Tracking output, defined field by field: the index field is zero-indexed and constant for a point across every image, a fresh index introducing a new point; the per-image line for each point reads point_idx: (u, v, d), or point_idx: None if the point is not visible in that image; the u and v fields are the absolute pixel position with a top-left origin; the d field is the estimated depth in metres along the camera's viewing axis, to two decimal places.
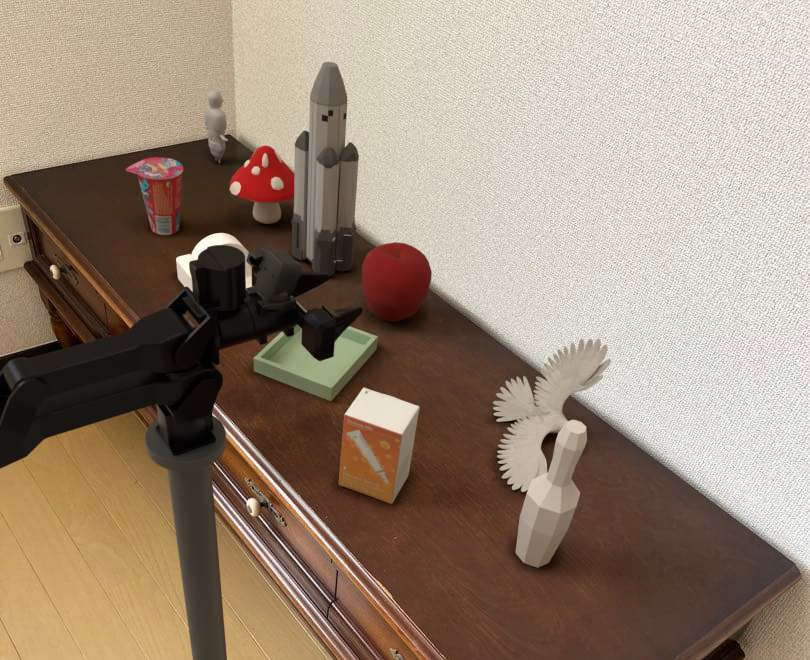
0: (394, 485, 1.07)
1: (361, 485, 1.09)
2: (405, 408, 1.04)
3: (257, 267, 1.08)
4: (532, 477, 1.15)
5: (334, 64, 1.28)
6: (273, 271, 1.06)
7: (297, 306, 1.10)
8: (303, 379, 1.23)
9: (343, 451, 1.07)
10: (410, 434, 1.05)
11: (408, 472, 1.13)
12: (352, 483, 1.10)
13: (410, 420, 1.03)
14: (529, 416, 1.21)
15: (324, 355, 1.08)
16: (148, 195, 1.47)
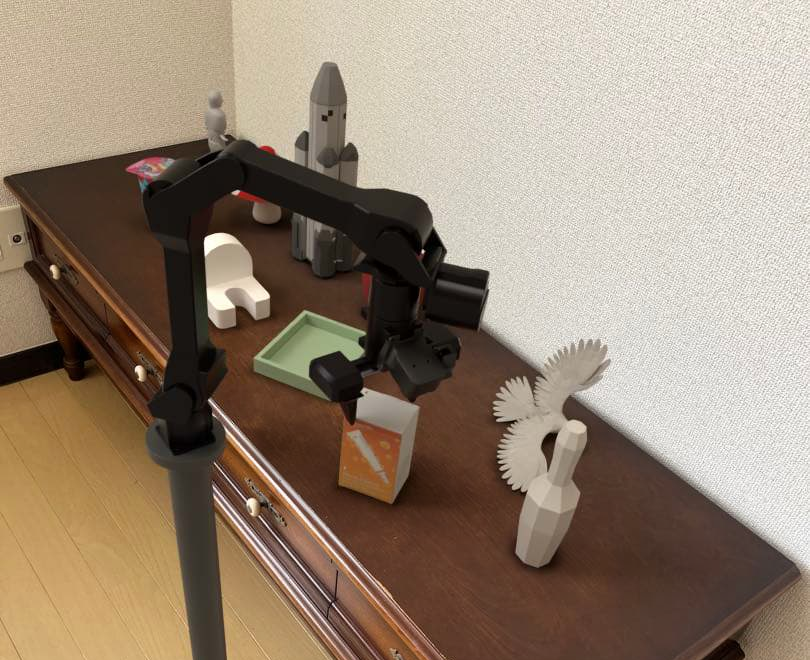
0: (394, 485, 1.07)
1: (361, 485, 1.09)
2: (405, 408, 1.04)
3: (436, 352, 0.93)
4: (532, 477, 1.15)
5: (334, 64, 1.28)
6: (418, 369, 0.92)
7: None
8: (303, 379, 1.23)
9: (343, 451, 1.07)
10: (410, 434, 1.05)
11: (408, 472, 1.13)
12: (352, 483, 1.10)
13: (410, 420, 1.03)
14: (529, 416, 1.21)
15: (312, 370, 0.94)
16: None
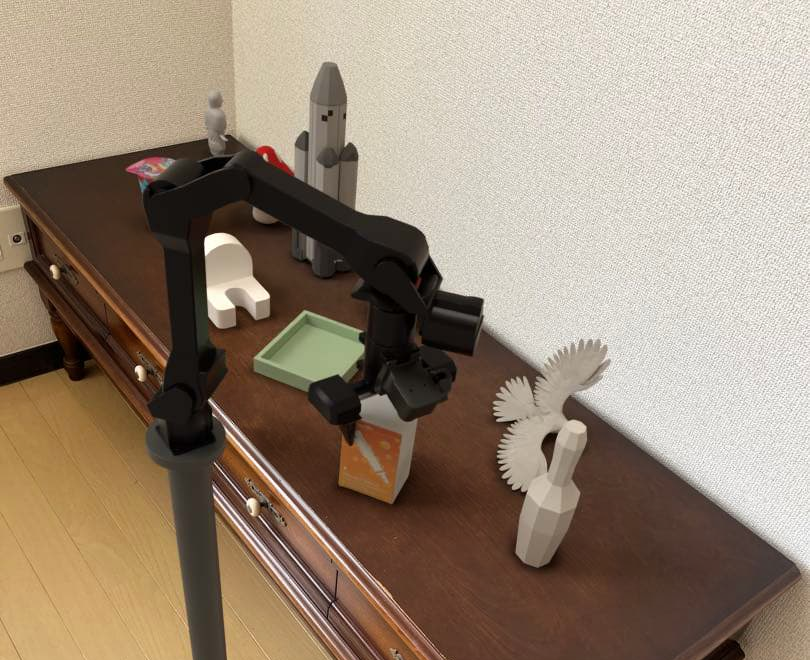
0: (394, 485, 1.07)
1: (361, 485, 1.09)
2: None
3: (432, 376, 0.96)
4: (532, 477, 1.15)
5: (334, 64, 1.28)
6: (414, 393, 0.94)
7: None
8: (303, 379, 1.23)
9: (343, 451, 1.06)
10: (410, 434, 1.05)
11: (408, 472, 1.13)
12: (352, 484, 1.10)
13: None
14: (529, 416, 1.21)
15: (311, 394, 0.97)
16: None
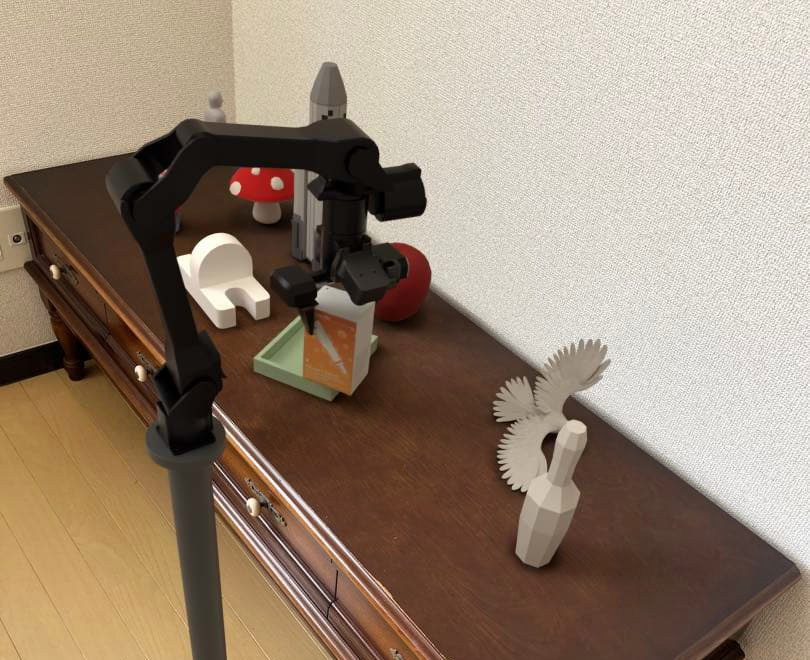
0: (352, 375, 1.17)
1: (323, 377, 1.19)
2: None
3: (382, 264, 1.05)
4: (532, 477, 1.15)
5: (334, 64, 1.28)
6: (365, 278, 1.03)
7: None
8: (303, 379, 1.23)
9: (305, 343, 1.16)
10: (366, 327, 1.15)
11: (367, 369, 1.22)
12: (314, 376, 1.19)
13: (365, 312, 1.12)
14: (529, 416, 1.21)
15: (272, 280, 1.06)
16: None
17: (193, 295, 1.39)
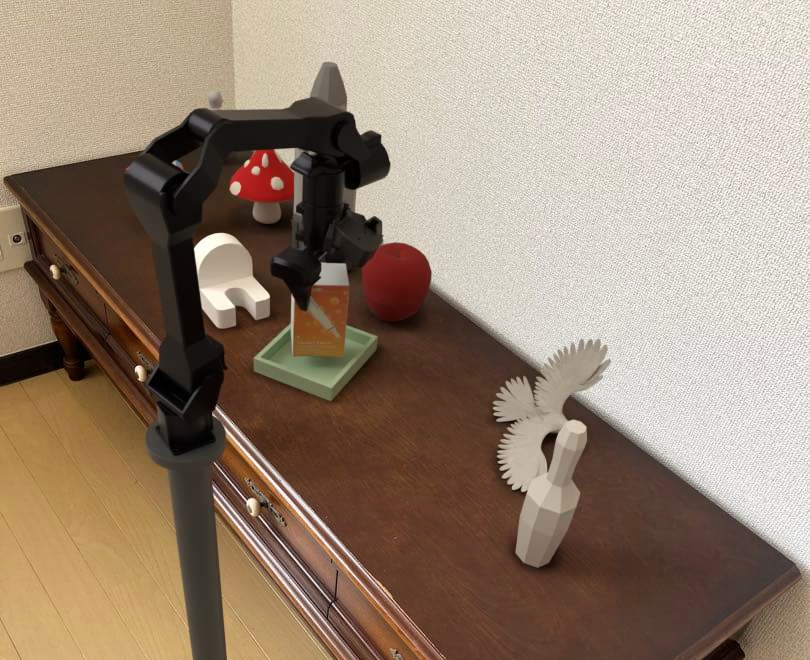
0: (344, 337, 1.25)
1: (314, 348, 1.25)
2: (336, 267, 1.21)
3: (367, 225, 1.14)
4: (532, 477, 1.15)
5: (334, 64, 1.28)
6: (363, 240, 1.12)
7: (323, 251, 1.15)
8: (303, 379, 1.23)
9: (296, 321, 1.21)
10: None
11: None
12: (305, 350, 1.25)
13: (347, 274, 1.20)
14: (529, 416, 1.21)
15: (275, 267, 1.10)
16: None
17: None
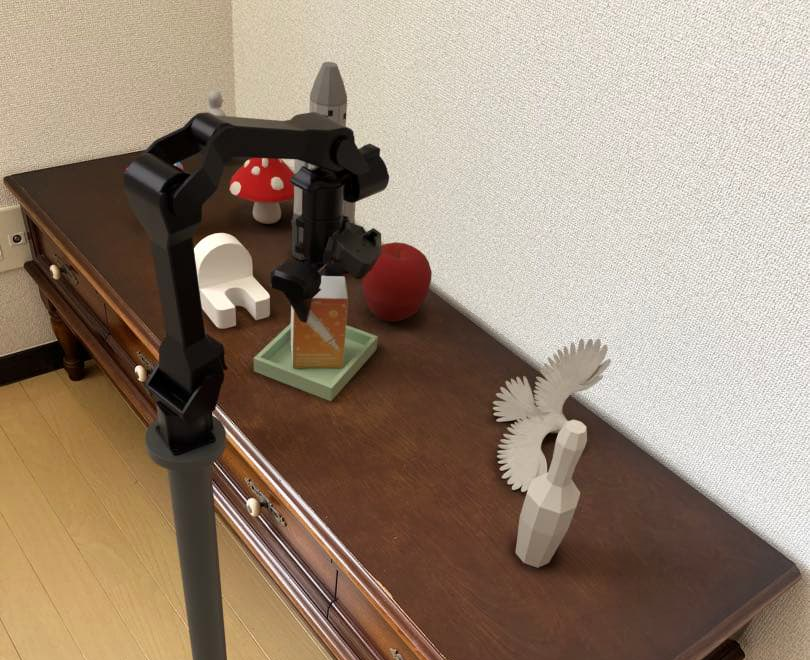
0: (343, 349, 1.26)
1: (314, 360, 1.27)
2: (335, 280, 1.23)
3: (366, 237, 1.15)
4: (532, 477, 1.15)
5: (334, 64, 1.28)
6: (362, 253, 1.13)
7: (322, 264, 1.16)
8: (303, 379, 1.23)
9: (295, 333, 1.23)
10: None
11: None
12: (305, 361, 1.27)
13: (345, 287, 1.22)
14: (529, 416, 1.21)
15: (276, 280, 1.12)
16: None
17: None
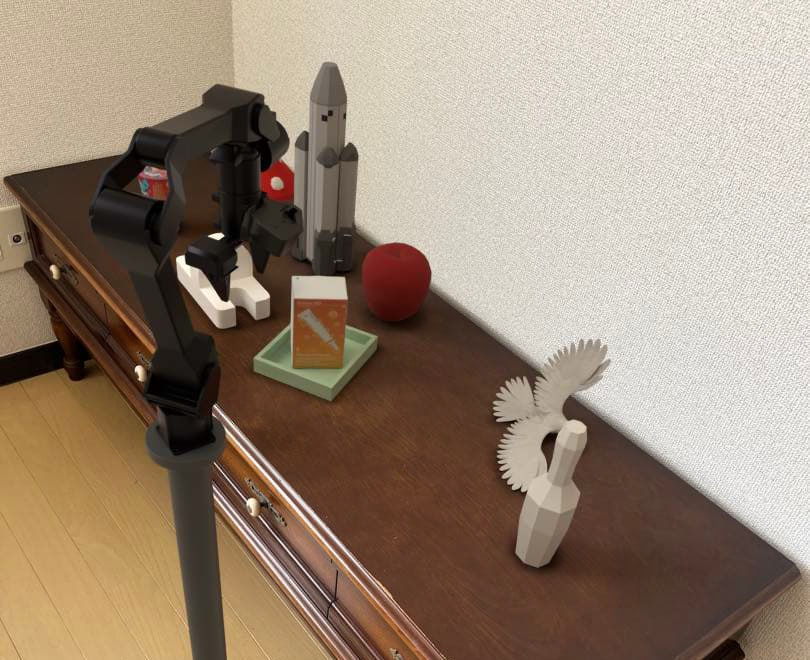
0: (343, 349, 1.26)
1: (314, 360, 1.27)
2: (335, 280, 1.23)
3: (286, 213, 1.12)
4: (532, 477, 1.15)
5: (334, 64, 1.28)
6: (280, 229, 1.10)
7: (241, 241, 1.13)
8: (303, 379, 1.23)
9: (295, 334, 1.23)
10: None
11: None
12: (305, 362, 1.27)
13: (345, 288, 1.22)
14: (529, 416, 1.21)
15: (189, 256, 1.08)
16: (148, 195, 1.47)
17: (193, 295, 1.39)
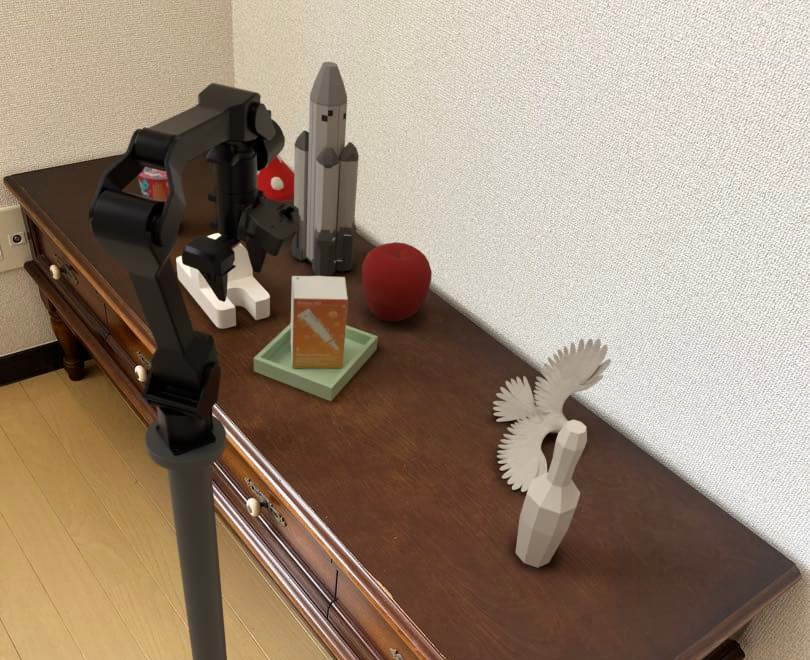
0: (343, 349, 1.26)
1: (314, 360, 1.27)
2: (335, 280, 1.23)
3: (282, 212, 1.12)
4: (532, 477, 1.15)
5: (334, 64, 1.28)
6: (277, 228, 1.10)
7: (238, 240, 1.12)
8: (303, 379, 1.23)
9: (295, 334, 1.23)
10: None
11: None
12: (305, 362, 1.27)
13: (345, 288, 1.22)
14: (529, 416, 1.21)
15: (186, 256, 1.08)
16: (148, 195, 1.47)
17: (193, 295, 1.39)
